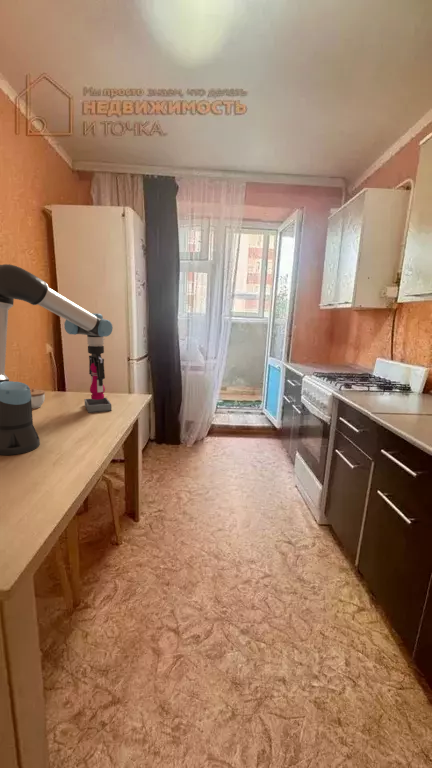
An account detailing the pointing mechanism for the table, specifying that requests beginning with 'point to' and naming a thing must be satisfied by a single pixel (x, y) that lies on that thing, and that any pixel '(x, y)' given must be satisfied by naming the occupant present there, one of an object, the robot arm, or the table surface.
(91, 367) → the pepper mill
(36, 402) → the lidded jar
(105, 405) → the bin
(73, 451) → the table surface
